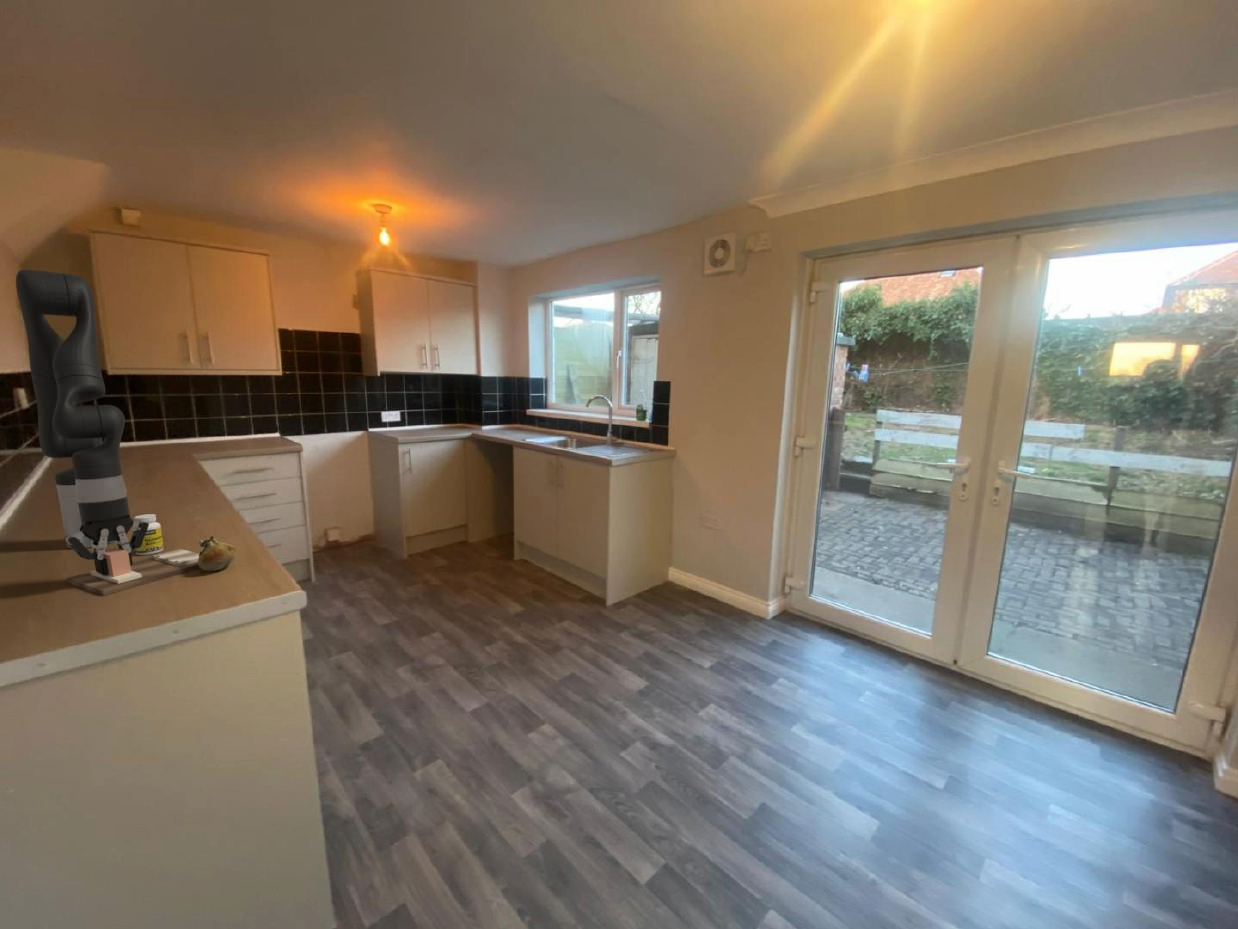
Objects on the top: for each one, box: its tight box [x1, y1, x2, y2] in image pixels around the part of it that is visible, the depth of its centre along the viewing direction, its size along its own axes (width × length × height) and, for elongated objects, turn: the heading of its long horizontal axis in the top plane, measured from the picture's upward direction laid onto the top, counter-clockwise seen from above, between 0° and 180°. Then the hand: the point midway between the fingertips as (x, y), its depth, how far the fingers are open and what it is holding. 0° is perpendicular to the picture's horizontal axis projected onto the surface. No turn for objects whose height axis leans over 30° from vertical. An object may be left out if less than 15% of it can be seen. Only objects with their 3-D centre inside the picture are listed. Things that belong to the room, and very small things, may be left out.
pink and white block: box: [89, 547, 142, 584], centre depth 110 cm, size 12×4×6 cm, turn 66°
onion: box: [198, 535, 237, 572], centre depth 117 cm, size 8×8×8 cm
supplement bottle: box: [131, 513, 165, 556], centre depth 128 cm, size 5×5×10 cm
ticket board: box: [66, 548, 201, 596], centre depth 115 cm, size 16×20×2 cm
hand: (115, 571), depth 111 cm, fingers closed on pink and white block, 3 cm apart
